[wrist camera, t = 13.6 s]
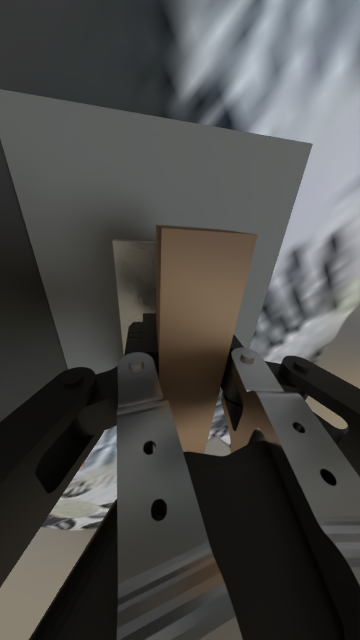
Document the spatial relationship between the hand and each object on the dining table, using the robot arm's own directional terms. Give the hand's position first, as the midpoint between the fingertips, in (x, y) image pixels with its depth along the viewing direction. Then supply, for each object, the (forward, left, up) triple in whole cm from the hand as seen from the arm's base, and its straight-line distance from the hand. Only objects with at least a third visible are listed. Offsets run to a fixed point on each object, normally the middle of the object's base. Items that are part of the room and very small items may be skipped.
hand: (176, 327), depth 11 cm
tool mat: (0, 0, -6) cm, 6 cm away
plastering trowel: (0, -2, -3) cm, 3 cm away
